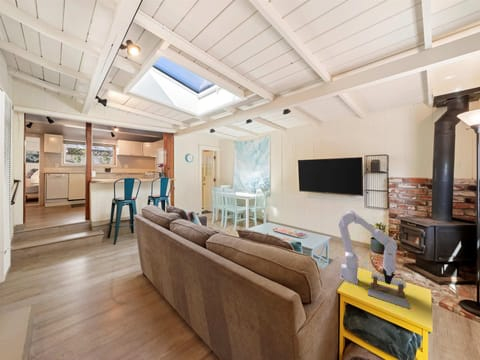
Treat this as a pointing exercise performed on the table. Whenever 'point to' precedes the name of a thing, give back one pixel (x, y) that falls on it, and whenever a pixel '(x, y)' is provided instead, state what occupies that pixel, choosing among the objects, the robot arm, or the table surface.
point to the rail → (393, 281)
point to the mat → (388, 298)
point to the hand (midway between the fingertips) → (387, 282)
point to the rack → (388, 289)
